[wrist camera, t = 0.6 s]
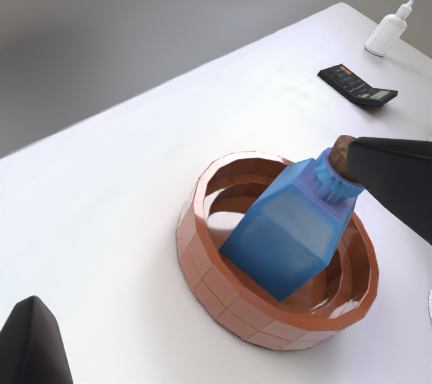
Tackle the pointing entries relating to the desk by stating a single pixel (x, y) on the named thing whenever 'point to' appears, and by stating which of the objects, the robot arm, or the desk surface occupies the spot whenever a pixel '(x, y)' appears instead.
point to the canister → (430, 304)
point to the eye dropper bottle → (388, 31)
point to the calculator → (355, 87)
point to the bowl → (245, 286)
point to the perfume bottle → (296, 222)
